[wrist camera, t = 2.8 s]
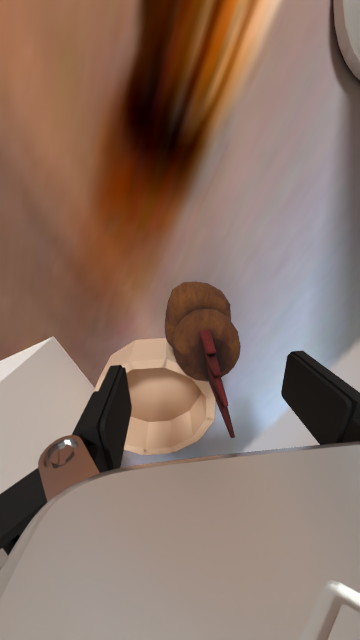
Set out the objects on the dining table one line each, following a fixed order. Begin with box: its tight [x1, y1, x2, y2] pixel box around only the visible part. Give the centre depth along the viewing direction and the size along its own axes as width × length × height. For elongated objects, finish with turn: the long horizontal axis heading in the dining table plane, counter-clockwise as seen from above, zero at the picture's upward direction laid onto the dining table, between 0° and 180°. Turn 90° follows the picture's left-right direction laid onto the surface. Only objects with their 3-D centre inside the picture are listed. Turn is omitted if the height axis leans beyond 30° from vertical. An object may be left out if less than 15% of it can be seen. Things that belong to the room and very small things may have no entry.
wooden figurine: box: [165, 282, 240, 438], centre depth 15 cm, size 7×6×15 cm
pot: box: [93, 338, 215, 455], centre depth 24 cm, size 14×14×5 cm
